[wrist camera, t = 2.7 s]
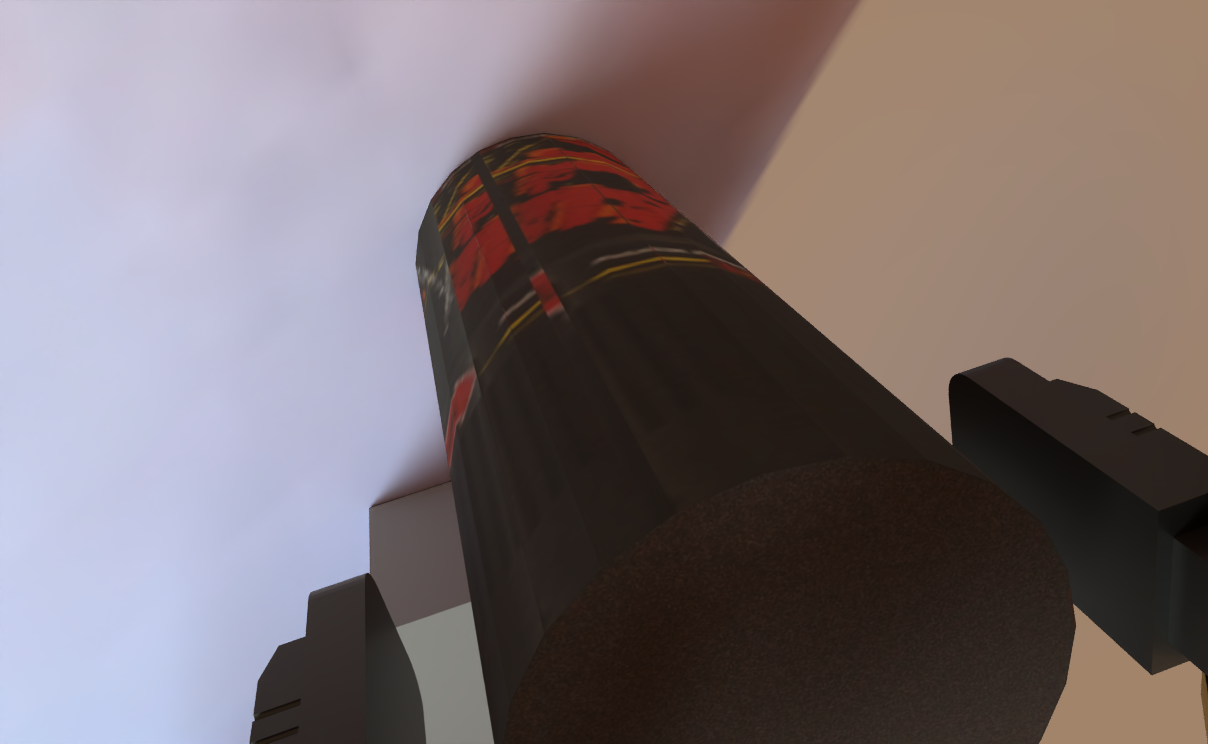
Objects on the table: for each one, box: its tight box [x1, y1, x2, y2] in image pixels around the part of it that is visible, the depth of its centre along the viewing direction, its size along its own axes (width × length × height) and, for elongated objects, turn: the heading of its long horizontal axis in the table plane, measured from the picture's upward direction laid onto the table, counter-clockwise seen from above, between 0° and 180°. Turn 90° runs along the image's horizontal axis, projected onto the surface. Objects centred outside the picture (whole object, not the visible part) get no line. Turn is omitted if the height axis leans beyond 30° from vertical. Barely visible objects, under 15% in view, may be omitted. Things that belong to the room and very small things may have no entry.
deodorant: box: [416, 133, 1076, 744], centre depth 16 cm, size 6×6×15 cm
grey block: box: [369, 481, 494, 744], centre depth 24 cm, size 8×8×5 cm
